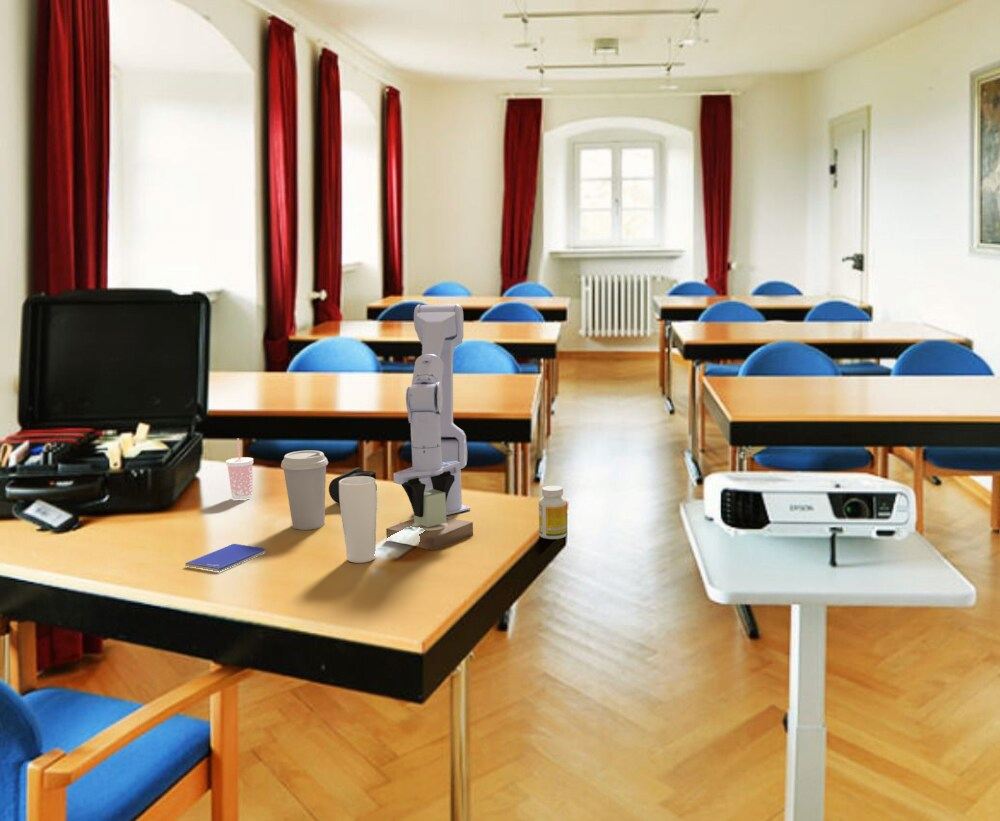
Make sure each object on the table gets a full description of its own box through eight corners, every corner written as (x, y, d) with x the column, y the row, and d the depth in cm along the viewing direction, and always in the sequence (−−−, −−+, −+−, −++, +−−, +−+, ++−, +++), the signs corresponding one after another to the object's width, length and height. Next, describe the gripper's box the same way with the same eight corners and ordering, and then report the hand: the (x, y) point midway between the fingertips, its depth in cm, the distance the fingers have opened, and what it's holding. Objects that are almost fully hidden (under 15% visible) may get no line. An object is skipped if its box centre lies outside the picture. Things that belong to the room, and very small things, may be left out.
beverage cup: (244, 502, 230) (239, 442, 228) (223, 500, 233) (218, 440, 230) (261, 496, 236) (257, 436, 233) (240, 493, 238) (236, 435, 236)
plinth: (386, 541, 198) (386, 528, 198) (426, 525, 208) (425, 513, 207) (434, 550, 191) (434, 537, 191) (473, 534, 201) (472, 521, 200)
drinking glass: (338, 557, 189) (334, 478, 187) (374, 551, 192) (369, 474, 189) (348, 567, 183) (343, 486, 180) (384, 561, 186) (380, 481, 183)
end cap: (350, 495, 235) (348, 466, 233) (378, 496, 232) (376, 467, 231) (329, 506, 225) (327, 476, 224) (357, 508, 223) (356, 478, 222)
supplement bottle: (533, 536, 198) (532, 488, 197) (551, 530, 202) (550, 483, 201) (555, 541, 195) (553, 492, 193) (572, 534, 199) (571, 487, 197)
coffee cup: (300, 535, 204) (295, 462, 201) (276, 525, 211) (271, 455, 208) (340, 524, 210) (336, 454, 207) (316, 516, 217) (312, 447, 215)
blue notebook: (218, 567, 182) (265, 547, 193) (185, 562, 186) (232, 542, 197) (219, 576, 182) (265, 555, 193) (185, 570, 186) (232, 550, 197)
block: (414, 522, 199) (412, 492, 198) (432, 517, 202) (431, 488, 201) (427, 527, 196) (426, 496, 195) (446, 522, 198) (445, 492, 197)
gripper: (406, 454, 189) (410, 525, 191) (468, 442, 198) (471, 510, 200) (386, 448, 194) (389, 517, 196) (447, 437, 203) (449, 503, 205)
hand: (429, 513), depth 199 cm, fingers closed on block, 4 cm apart
